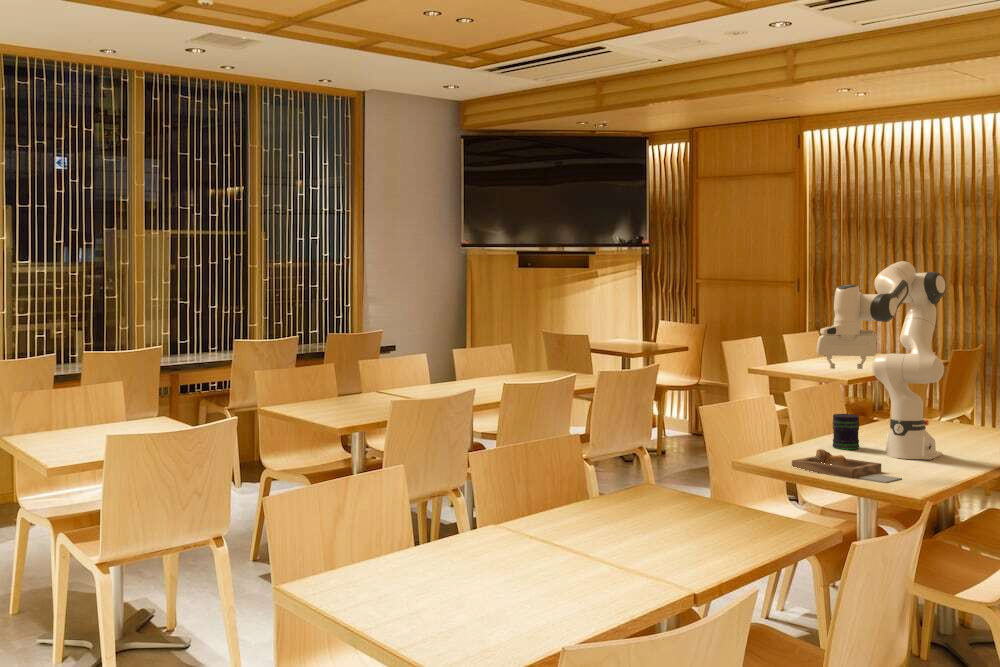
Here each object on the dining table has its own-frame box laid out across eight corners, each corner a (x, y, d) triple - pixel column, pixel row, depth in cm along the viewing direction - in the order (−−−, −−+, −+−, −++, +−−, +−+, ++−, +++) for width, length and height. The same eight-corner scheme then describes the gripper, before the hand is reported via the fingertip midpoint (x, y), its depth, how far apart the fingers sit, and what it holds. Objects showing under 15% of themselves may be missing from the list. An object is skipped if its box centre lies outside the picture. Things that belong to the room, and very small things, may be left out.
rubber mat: (874, 475, 329) (874, 474, 329) (901, 479, 321) (902, 478, 321) (858, 478, 323) (858, 477, 323) (885, 483, 315) (885, 481, 315)
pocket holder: (821, 463, 354) (821, 455, 354) (881, 472, 335) (881, 463, 335) (791, 468, 343) (791, 460, 343) (851, 478, 324) (851, 469, 324)
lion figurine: (815, 470, 340) (815, 449, 340) (816, 468, 344) (816, 447, 344) (851, 472, 336) (851, 451, 336) (851, 469, 340) (851, 449, 340)
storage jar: (862, 455, 371) (863, 416, 370) (837, 455, 371) (837, 416, 371) (853, 451, 381) (854, 413, 380) (829, 451, 381) (829, 413, 380)
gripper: (874, 330, 342) (874, 368, 343) (815, 329, 345) (815, 367, 345) (879, 330, 336) (878, 369, 336) (819, 329, 339) (818, 368, 339)
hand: (846, 368), depth 341 cm, fingers open, 8 cm apart
